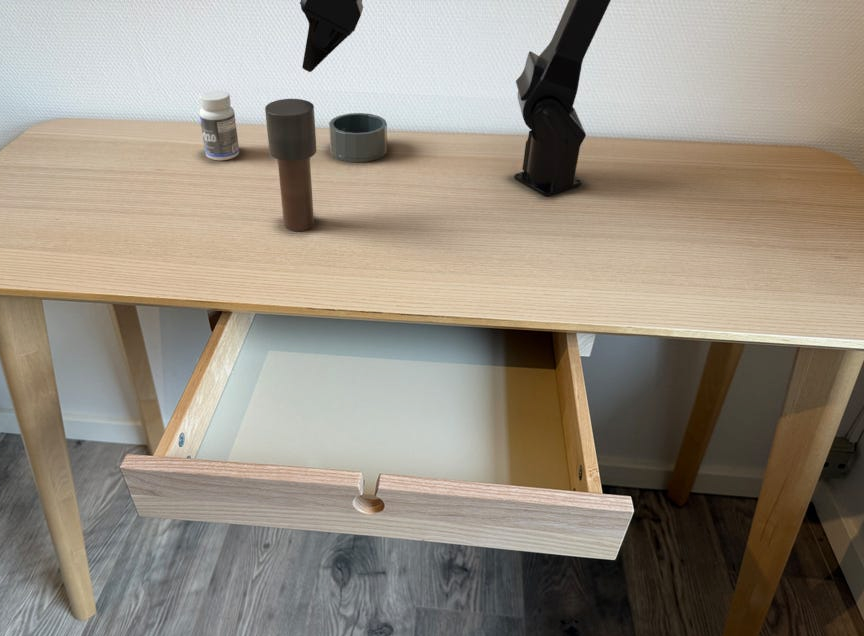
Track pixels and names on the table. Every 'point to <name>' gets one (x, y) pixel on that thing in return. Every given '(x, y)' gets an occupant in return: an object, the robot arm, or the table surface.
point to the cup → (358, 137)
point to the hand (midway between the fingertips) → (311, 58)
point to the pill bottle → (218, 125)
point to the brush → (293, 157)
